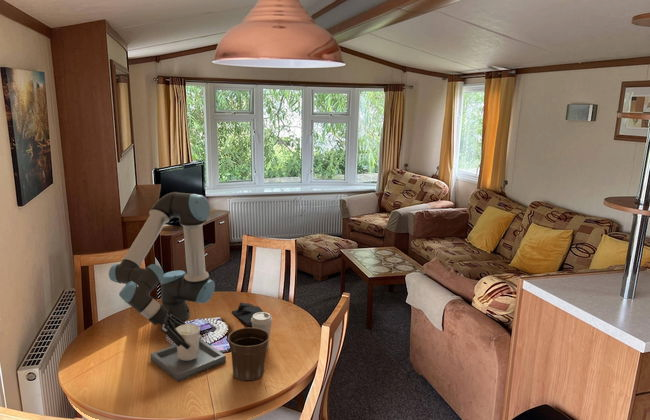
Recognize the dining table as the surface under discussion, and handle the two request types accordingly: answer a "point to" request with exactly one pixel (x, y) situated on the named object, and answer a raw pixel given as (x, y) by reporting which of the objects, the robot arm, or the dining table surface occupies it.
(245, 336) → the plant pot
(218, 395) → the dining table surface
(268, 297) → the dining table surface
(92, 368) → the dining table surface
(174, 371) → the tray
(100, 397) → the dining table surface
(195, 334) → the candle holder
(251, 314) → the dark grey crumpled cloth
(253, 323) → the coffee cup
